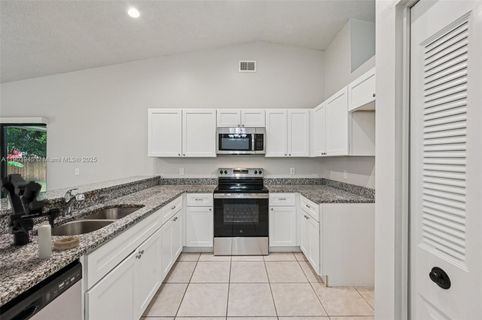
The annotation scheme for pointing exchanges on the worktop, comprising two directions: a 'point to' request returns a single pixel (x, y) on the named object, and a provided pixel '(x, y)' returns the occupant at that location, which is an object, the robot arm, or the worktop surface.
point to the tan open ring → (66, 243)
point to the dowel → (44, 241)
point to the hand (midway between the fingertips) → (40, 231)
